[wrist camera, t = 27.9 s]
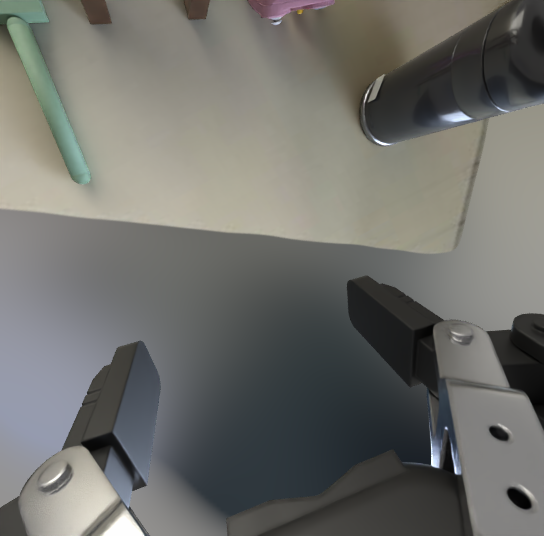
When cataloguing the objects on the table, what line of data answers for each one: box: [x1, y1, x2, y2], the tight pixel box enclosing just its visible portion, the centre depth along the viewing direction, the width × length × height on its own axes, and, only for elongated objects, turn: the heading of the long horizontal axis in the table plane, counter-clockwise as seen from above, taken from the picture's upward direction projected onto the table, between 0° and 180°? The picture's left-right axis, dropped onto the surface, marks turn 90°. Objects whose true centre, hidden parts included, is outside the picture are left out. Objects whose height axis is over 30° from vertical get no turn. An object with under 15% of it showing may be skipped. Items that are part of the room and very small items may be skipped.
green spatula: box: [0, 0, 91, 184], centre depth 27 cm, size 21×5×2 cm, turn 14°
